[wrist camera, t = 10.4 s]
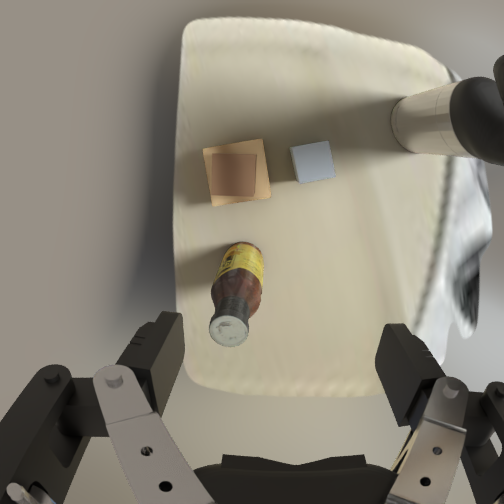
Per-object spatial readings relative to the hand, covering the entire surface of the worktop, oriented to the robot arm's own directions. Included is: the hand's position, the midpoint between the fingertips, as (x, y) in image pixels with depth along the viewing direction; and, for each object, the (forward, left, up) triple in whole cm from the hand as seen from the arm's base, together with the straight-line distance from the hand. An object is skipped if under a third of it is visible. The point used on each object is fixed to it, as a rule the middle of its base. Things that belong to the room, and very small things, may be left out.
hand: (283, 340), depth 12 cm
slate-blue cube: (-5, -6, -36) cm, 37 cm away
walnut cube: (+5, -4, -31) cm, 32 cm away
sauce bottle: (+4, +10, -36) cm, 38 cm away
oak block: (+5, -4, -36) cm, 37 cm away
